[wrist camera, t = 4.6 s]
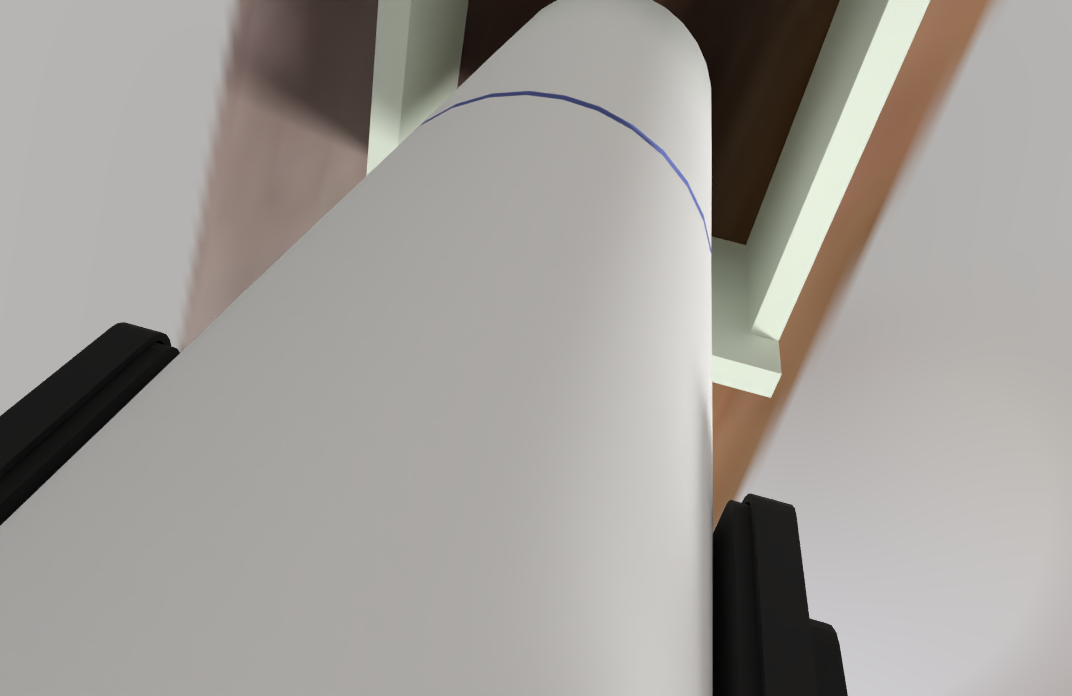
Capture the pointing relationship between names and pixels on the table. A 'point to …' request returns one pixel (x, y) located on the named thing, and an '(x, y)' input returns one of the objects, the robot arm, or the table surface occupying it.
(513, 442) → the cylindrical container
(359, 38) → the table surface
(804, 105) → the frame
